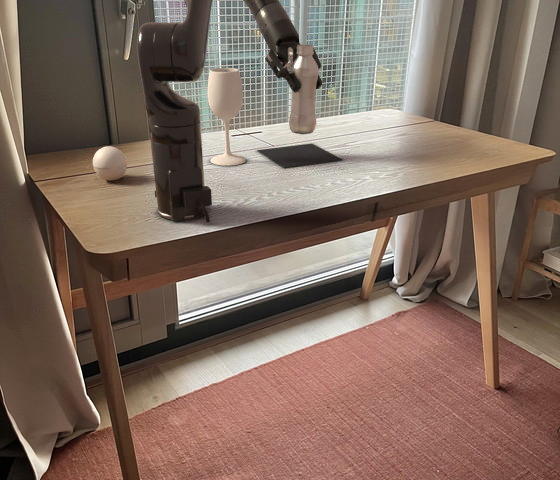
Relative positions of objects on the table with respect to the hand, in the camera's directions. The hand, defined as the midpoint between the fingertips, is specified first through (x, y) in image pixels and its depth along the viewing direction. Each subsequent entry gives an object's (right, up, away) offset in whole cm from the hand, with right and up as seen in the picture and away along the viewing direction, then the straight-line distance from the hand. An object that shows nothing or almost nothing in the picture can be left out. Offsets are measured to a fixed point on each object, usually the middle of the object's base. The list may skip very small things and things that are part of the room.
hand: (308, 88), depth 133 cm
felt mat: (-2, -13, +11) cm, 17 cm away
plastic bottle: (-1, -9, +7) cm, 11 cm away
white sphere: (-45, -23, -7) cm, 51 cm away
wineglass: (-20, -16, +7) cm, 26 cm away
